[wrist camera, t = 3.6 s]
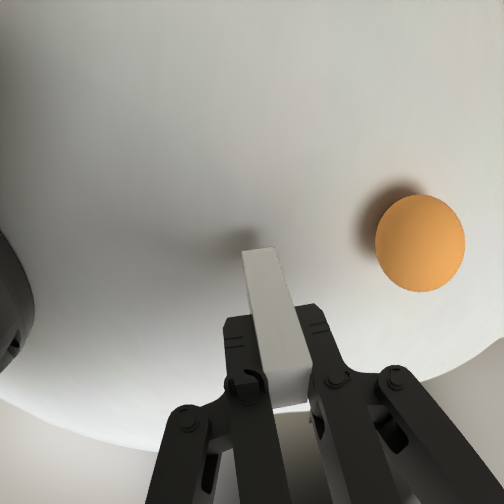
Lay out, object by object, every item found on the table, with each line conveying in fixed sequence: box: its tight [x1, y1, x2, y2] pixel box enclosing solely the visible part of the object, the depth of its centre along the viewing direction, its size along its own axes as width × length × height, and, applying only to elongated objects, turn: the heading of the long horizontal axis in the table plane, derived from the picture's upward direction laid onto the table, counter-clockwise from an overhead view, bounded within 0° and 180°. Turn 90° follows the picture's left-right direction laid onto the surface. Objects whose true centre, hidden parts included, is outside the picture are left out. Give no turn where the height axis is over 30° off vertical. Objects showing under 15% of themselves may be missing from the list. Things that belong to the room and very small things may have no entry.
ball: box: [375, 195, 465, 292], centre depth 15 cm, size 6×6×6 cm
